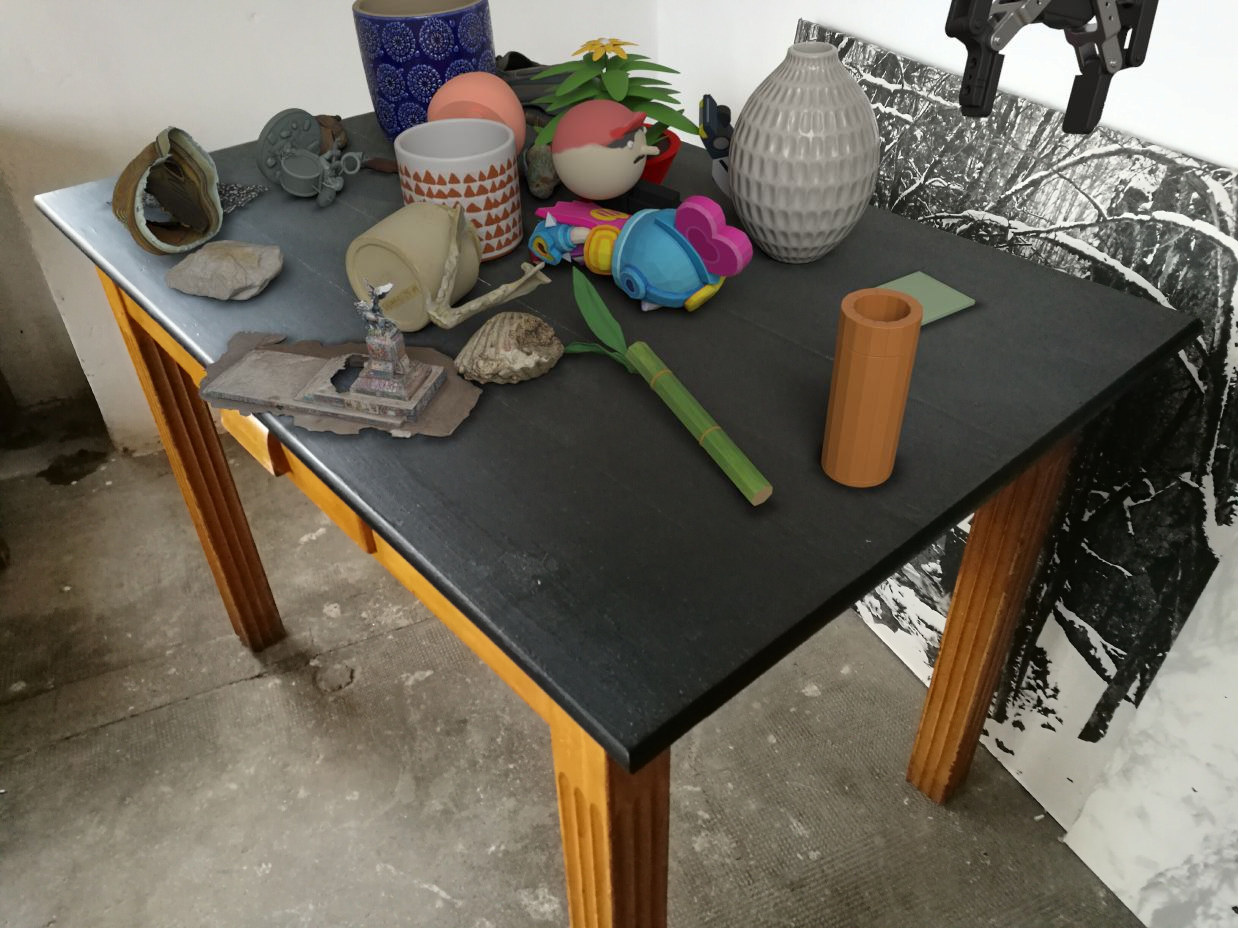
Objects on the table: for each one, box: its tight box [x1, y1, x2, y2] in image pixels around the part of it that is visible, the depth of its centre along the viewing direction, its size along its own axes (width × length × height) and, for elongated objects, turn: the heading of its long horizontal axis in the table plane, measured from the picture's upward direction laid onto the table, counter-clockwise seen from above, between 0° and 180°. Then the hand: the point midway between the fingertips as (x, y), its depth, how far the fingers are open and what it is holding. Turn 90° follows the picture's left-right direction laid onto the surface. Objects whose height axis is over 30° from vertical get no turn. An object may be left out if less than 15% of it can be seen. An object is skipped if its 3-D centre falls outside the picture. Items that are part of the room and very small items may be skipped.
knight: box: [527, 195, 754, 312], centre depth 96 cm, size 12×14×30 cm
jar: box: [820, 287, 923, 488], centre depth 71 cm, size 6×6×15 cm
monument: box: [197, 278, 484, 438], centre depth 85 cm, size 30×16×13 cm, turn 73°
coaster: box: [874, 270, 976, 327], centre depth 96 cm, size 8×8×1 cm
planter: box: [351, 0, 498, 149], centre depth 129 cm, size 18×18×21 cm
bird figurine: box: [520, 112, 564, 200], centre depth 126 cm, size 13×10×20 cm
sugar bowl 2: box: [427, 72, 527, 157], centre depth 115 cm, size 12×14×10 cm
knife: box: [360, 156, 399, 174], centre depth 126 cm, size 28×1×5 cm
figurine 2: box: [313, 114, 348, 161], centre depth 139 cm, size 14×4×9 cm
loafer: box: [496, 50, 604, 117], centre depth 148 cm, size 11×30×9 cm, turn 59°
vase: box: [728, 41, 881, 264], centre depth 99 cm, size 16×16×22 cm
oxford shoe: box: [111, 125, 224, 256], centre depth 113 cm, size 28×10×11 cm
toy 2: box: [593, 178, 683, 216], centre depth 104 cm, size 8×4×15 cm
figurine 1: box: [254, 107, 366, 208], centre depth 123 cm, size 11×11×12 cm
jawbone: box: [425, 203, 552, 330], centre depth 87 cm, size 12×13×8 cm
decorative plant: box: [563, 265, 773, 507], centre depth 81 cm, size 6×8×30 cm
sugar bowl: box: [344, 202, 482, 333], centre depth 98 cm, size 15×11×15 cm
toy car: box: [698, 93, 734, 200], centre depth 110 cm, size 5×16×5 cm
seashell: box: [454, 311, 565, 385], centre depth 87 cm, size 11×7×10 cm
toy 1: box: [552, 100, 660, 200], centre depth 97 cm, size 10×12×10 cm
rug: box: [105, 181, 269, 217], centre depth 126 cm, size 10×20×1 cm, turn 72°
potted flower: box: [530, 37, 699, 203], centre depth 111 cm, size 24×25×20 cm
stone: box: [164, 239, 285, 301], centre depth 104 cm, size 14×6×10 cm
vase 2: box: [393, 118, 524, 263], centre depth 108 cm, size 14×14×13 cm
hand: (1027, 126), depth 60 cm, fingers open, 8 cm apart
